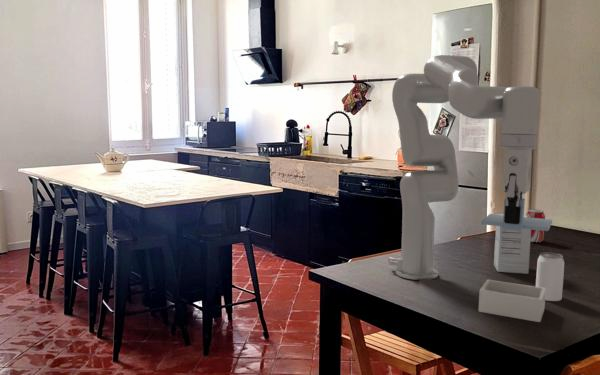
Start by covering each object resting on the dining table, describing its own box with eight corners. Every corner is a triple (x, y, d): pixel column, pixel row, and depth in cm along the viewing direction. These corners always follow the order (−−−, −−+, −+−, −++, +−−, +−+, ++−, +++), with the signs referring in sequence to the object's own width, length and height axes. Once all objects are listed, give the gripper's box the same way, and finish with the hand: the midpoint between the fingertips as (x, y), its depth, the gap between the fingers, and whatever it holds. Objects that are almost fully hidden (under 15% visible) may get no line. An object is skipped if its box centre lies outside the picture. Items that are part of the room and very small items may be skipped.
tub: (478, 313, 135) (479, 290, 134) (485, 301, 144) (487, 279, 143) (540, 324, 128) (541, 299, 128) (544, 311, 137) (545, 288, 136)
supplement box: (529, 274, 169) (532, 220, 166) (497, 272, 170) (500, 218, 168) (523, 265, 178) (526, 214, 176) (493, 264, 180) (496, 213, 177)
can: (554, 295, 150) (557, 251, 148) (566, 303, 143) (569, 258, 142) (530, 295, 149) (533, 251, 148) (541, 303, 143) (544, 258, 141)
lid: (478, 229, 129) (480, 197, 128) (489, 219, 141) (491, 189, 140) (546, 236, 122) (548, 202, 121) (551, 225, 135) (554, 194, 134)
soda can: (519, 239, 215) (521, 209, 213) (534, 238, 217) (536, 208, 215) (532, 243, 208) (534, 212, 206) (547, 242, 210) (549, 211, 208)
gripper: (531, 144, 115) (526, 230, 118) (539, 141, 130) (534, 217, 132) (494, 143, 119) (489, 226, 122) (506, 140, 133) (501, 214, 136)
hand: (513, 221), depth 127 cm, fingers closed on lid, 2 cm apart
